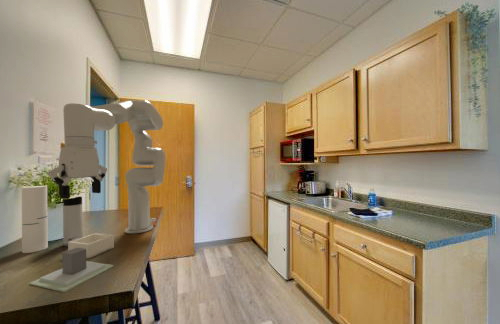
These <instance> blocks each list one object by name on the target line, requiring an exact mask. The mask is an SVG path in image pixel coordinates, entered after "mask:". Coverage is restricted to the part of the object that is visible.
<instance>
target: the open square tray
mask: <svg viewBox="0 0 500 324" xmlns="http://www.w3.org/2000/svg"><path fill="white" fill-rule="evenodd" d="M67 247H68V248H67V251H69V250H72V249H74V248H83V249H86V260H90V259H91V258H94V257H95V256H98V255H100V254H102V253H105V252H107V251H110V250H112V249H114V248H115V236H114V234H109V233H107V234H106V233H99V232H98V233H97V232H95V233H91V234H89V235H85V236H83V237H82V238H79V239H76V240H73V241H70V242H68V246H67Z"/></svg>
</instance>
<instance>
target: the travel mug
mask: <svg viewBox="0 0 500 324" xmlns="http://www.w3.org/2000/svg"><path fill="white" fill-rule="evenodd" d="M62 199H63V200H62V203H63V204H62V214H63V215H62V228H63V229H62V232H63V233H62V234H63V235H62V237H63V238H62V239H63V243H62V244H63V246H64V247H68V242H70V241H73V240H76V239H79V238H82V237H84V236H83V233H84V228H83V227H84V226H83V225H84V223H83V197H82V196H75V197H70V198H68V199H64V198H62Z"/></svg>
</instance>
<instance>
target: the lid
mask: <svg viewBox="0 0 500 324" xmlns="http://www.w3.org/2000/svg"><path fill="white" fill-rule="evenodd" d="M61 261H62V264H61V265H62V267H61V268H60V269H57V270H55V271H52V272H49V273H48V274H45V275H43V276H40V277H39V279H40V281H44V282H49V283H53V284H57V285H62V286H66V287H67V286H69V285H71V284H73V283H75V282H77V281H79V280H81V279H83V278H85V277H87V276H89V275H91V274H93V273H95V272H97V271H99V270H101V269H103V268H105V267H106V264H107V263H103V264H100V263H101V262H97V263H94V262H95V261H90V262H88V260H87V259H86V249H83V248H74V249H72V250H69V251H68V250H67V251H63V252H62V253H61Z"/></svg>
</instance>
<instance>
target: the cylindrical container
mask: <svg viewBox="0 0 500 324" xmlns="http://www.w3.org/2000/svg"><path fill="white" fill-rule="evenodd" d="M48 210H49V209H48V185H33V186H32V185H31V186H22V187H21V252H22V253H23V254H30V253H37V252H40V251H43V250H46V249H47V248H48V247H49V240H48V239H49V236H48V235H49V234H48V233H49V230H48V229H49V228H48V227H49V225H48V219H49V218H48V215H49V213H48Z"/></svg>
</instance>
